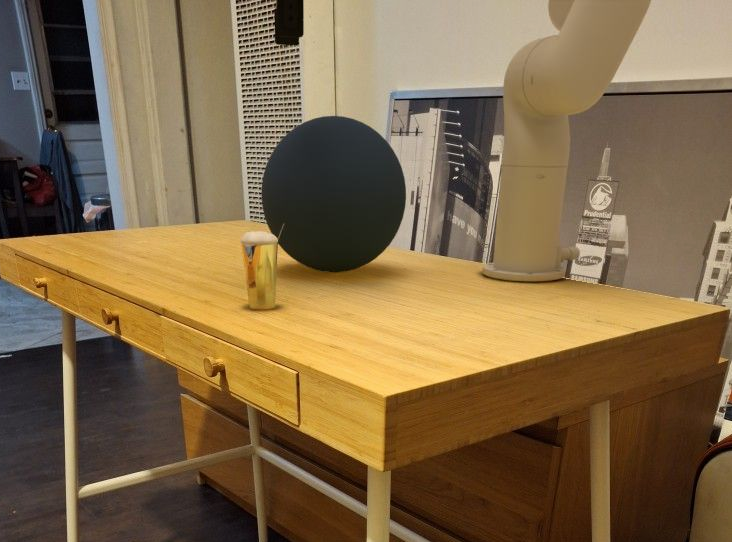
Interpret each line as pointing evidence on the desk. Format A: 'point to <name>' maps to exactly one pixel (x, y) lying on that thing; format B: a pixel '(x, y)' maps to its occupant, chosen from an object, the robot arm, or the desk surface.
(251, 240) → the milkshake
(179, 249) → the desk surface
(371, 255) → the ball
